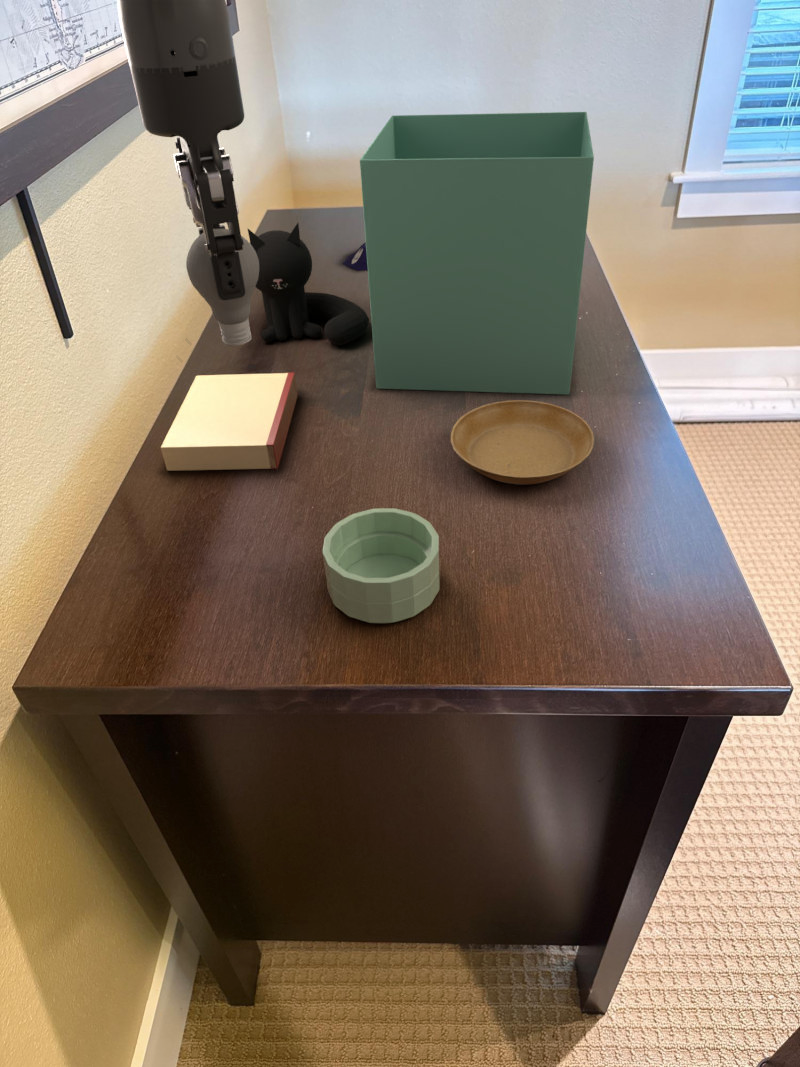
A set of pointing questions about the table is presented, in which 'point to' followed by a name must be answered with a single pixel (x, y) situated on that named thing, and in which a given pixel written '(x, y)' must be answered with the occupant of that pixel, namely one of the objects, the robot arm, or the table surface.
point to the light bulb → (201, 275)
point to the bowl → (382, 565)
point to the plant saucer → (522, 441)
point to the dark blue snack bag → (357, 259)
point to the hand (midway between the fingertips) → (225, 282)
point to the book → (232, 423)
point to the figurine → (299, 293)
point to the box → (476, 249)
